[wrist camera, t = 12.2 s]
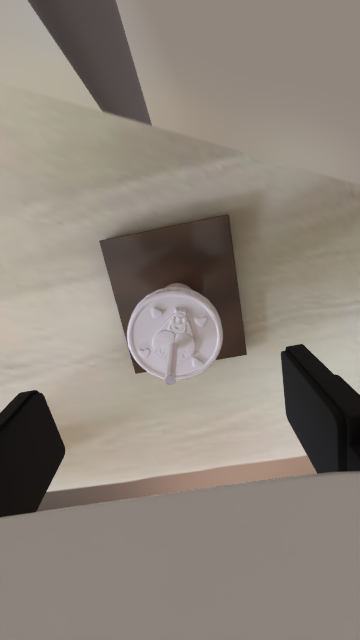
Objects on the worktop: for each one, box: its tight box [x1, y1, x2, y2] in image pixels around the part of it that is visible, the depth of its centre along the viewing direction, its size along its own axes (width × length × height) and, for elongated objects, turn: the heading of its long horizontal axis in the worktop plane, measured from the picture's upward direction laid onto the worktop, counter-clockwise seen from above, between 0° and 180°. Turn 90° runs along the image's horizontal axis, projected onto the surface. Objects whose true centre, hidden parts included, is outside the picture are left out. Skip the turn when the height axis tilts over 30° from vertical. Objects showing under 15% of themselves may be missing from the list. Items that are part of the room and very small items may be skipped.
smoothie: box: [127, 283, 223, 385], centre depth 21 cm, size 6×6×14 cm
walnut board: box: [100, 215, 247, 373], centre depth 28 cm, size 14×12×2 cm
